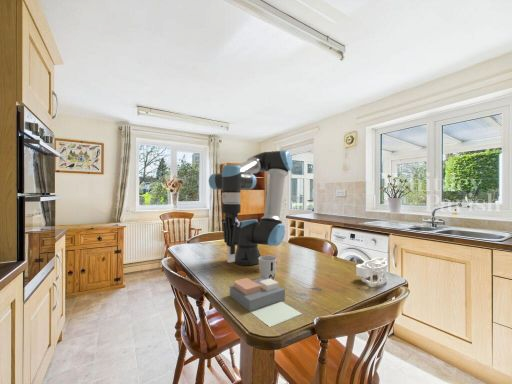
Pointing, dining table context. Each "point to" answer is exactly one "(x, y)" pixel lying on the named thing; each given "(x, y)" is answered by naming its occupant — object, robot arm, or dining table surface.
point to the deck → (258, 297)
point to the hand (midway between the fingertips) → (231, 261)
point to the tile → (247, 286)
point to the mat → (276, 314)
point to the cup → (267, 266)
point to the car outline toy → (373, 266)
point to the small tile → (268, 284)
